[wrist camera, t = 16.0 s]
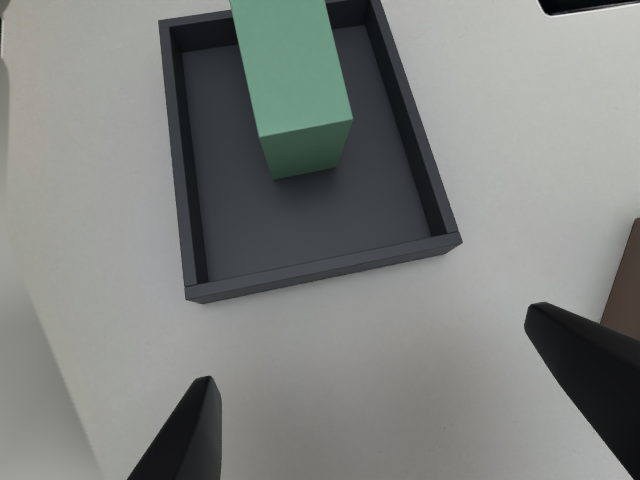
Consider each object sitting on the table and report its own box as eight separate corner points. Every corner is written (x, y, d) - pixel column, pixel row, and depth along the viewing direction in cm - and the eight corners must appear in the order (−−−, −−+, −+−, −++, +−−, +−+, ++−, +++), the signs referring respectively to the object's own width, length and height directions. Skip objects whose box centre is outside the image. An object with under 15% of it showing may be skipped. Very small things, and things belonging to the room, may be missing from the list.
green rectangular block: (337, 167, 25) (297, -1, 26) (353, 119, 17) (296, -119, 18) (272, 180, 25) (235, 9, 26) (258, 137, 17) (206, -107, 18)
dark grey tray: (445, 253, 24) (463, 242, 21) (201, 304, 23) (185, 300, 20) (370, 21, 30) (376, -13, 27) (173, 51, 29) (157, 19, 26)
